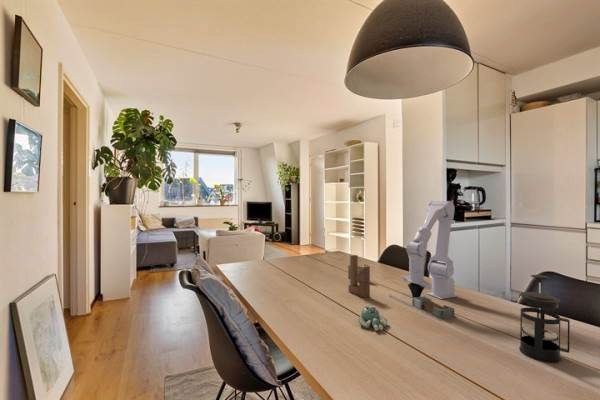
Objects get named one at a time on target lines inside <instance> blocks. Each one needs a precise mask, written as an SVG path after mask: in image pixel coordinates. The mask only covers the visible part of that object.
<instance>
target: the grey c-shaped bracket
mask: <svg viewBox="0 0 600 400" xmlns="http://www.w3.org/2000/svg"><path fill="white" fill-rule="evenodd" d="M443 307H444V308H447V309H443V310H440V309H438V308H436V307H433V313H432V315H434V316H436V317H438V318H440V321H441V320H446V319H451V318H452V319H453V318H455V317H454V315H455V308H454V307H451V306H449V305H446V304H444V305H443Z"/></svg>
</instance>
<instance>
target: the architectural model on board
mask: <svg viewBox="0 0 600 400" xmlns="http://www.w3.org/2000/svg"><path fill="white" fill-rule="evenodd" d="M368 266H370V265H369V263H368V264H366V263H364V265H363V266H359V265H358V273H359V272H360V271H361V270H362V269H363V268H364V267H368ZM347 269H348V271H347V275H348V279H349V280H350V264H349V265H348V267H347ZM358 282H359V280H358Z"/></svg>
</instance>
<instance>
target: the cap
mask: <svg viewBox="0 0 600 400" xmlns="http://www.w3.org/2000/svg"><path fill="white" fill-rule="evenodd" d="M424 301H432V302H433V299H432V298H430V297H427V296H426V295H425V296H424V295H423V296H422V295H421V296H420V297H416V298H412V303H411V305H413V306H415V307H417V308H419V309H421V310H422V306H424Z"/></svg>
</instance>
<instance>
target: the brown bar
mask: <svg viewBox="0 0 600 400" xmlns="http://www.w3.org/2000/svg"><path fill="white" fill-rule="evenodd" d="M433 307H436V308H438V309H440V310H443V309H447V308H444V306H443V305H441V304H438V303H436V302H434V301H433V300H432V301H424V305H423V309H425V311H426V310H427V312H429V313H431V314H433Z"/></svg>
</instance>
